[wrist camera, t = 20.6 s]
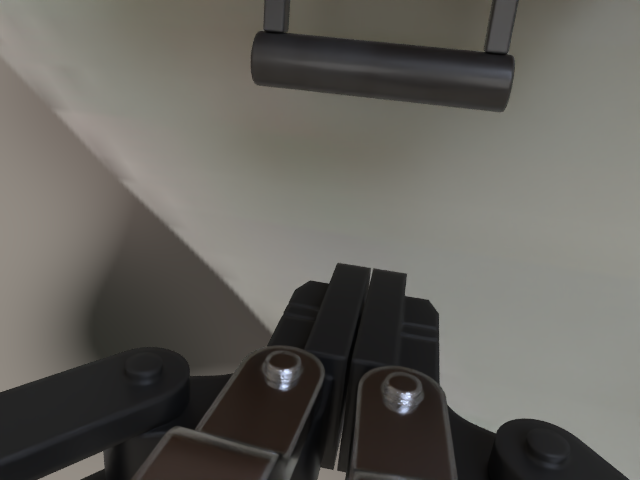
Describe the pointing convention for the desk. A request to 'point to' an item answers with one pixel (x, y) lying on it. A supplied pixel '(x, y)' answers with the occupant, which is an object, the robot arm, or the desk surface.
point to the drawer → (387, 64)
